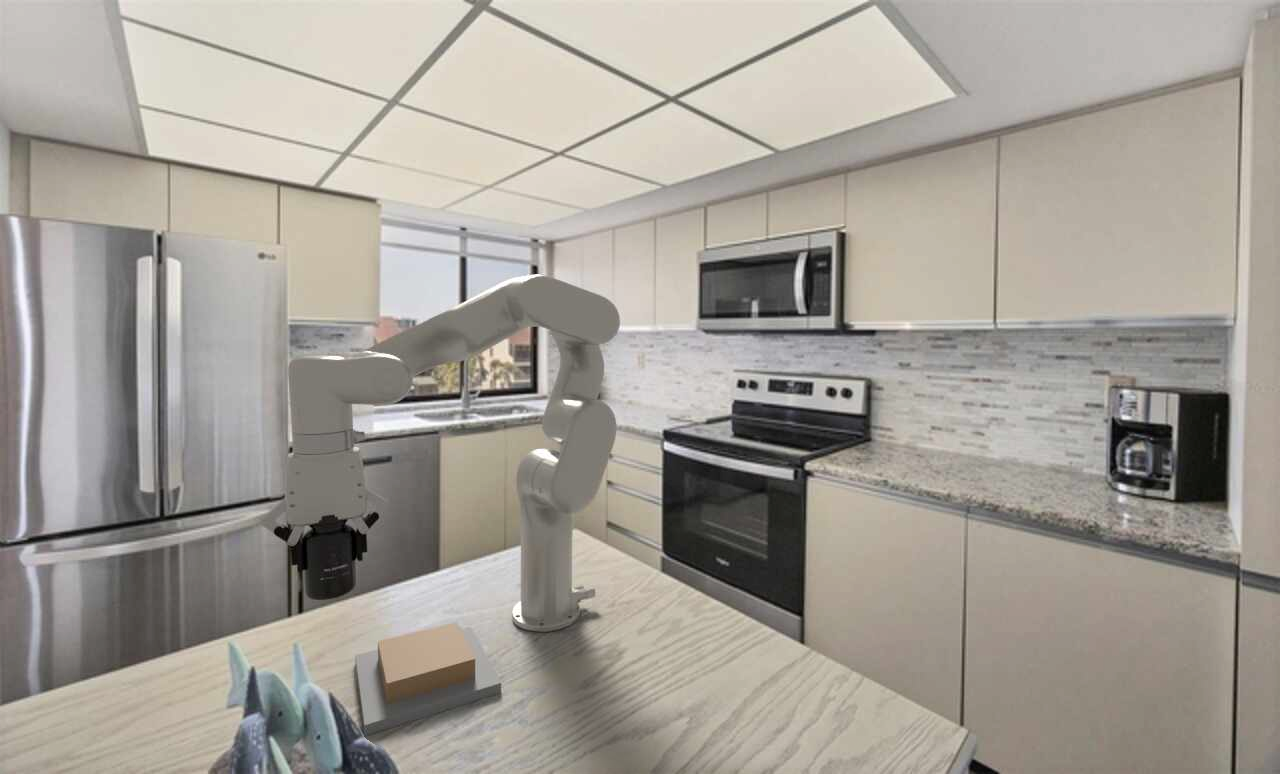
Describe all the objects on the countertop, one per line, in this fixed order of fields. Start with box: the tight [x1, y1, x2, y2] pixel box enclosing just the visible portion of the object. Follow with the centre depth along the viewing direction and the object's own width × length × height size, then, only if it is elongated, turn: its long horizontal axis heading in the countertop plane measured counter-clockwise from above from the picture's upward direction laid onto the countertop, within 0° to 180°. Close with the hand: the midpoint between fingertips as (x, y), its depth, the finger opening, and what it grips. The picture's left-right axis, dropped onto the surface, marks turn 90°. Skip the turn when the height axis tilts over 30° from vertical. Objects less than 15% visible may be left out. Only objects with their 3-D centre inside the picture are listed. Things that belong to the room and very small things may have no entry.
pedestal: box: [354, 621, 502, 737], centre depth 83 cm, size 18×18×4 cm
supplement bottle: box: [301, 515, 358, 601], centre depth 79 cm, size 7×7×12 cm
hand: (330, 562), depth 79 cm, fingers closed on supplement bottle, 6 cm apart
